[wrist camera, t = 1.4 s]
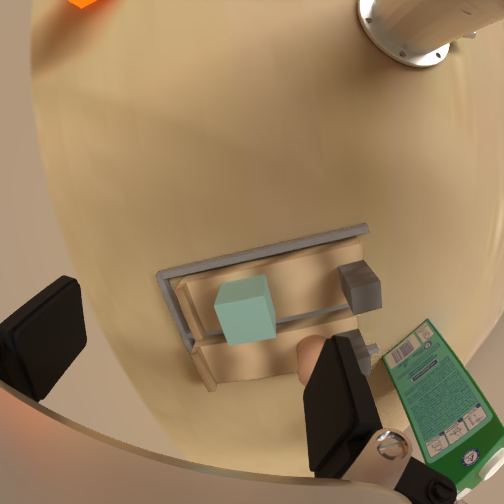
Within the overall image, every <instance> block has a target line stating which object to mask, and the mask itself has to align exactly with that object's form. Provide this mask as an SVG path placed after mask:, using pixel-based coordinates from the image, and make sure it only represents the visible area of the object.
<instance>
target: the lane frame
mask: <svg viewBox="0 0 504 504" xmlns="http://www.w3.org/2000/svg"><path fill="white" fill-rule="evenodd" d="M368 232H369V225H367V224H366V223H363V224H358V225H354V226H350V227H345V228H341V229H337V230H332V231H328V232H324V233H319V234H315V235H311V236H306V237H302V238H298V239H293V240H289V241H285V242H280V243H276V244H272V245H268V246H263V247H259V248H255V249H250V250H246V251H242V252H237V253H233V254H229V255H225V256H220V257H216V258H212V259H207V260H203V261H199V262H195V263H190V264H186V265H182V266H178V267H173V268H169V269H165V270H162V271H159V272H158V273H157V274H156V278H157V280H158V283H159V285H160V288H161V290H162V293H163V295H164V297H165V300H166V302H167V305H168V307H169V309H170V312H171V314H172V316H173V319H174V321H175V323H176V325H177V328H178V330H179V332H180V334H181V336H182V339H183V341H184V343H185V345H186V347H187V349H188V352H189V354H191V352H192V349H193V346H194V341H193V339H192V338H194V337H193V334H192V332H191V330H190V329H188V327H187V325H186V323H185V320H184V318H183V316H182V313H181V311H180V308H179V306H178V304H177V301H176V299H175V296H174V294H173V291H172V289H171V286H170V283H169V281H168V278H172V277H176V276H181V275H185V274H190V273H194V272H199V271H203V270H208V269H212V268H216V267H221V266H225V265H230V264H234V263H239V262H243V261H247V260H252V259H256V258H261V257H265V256H269V255H274V254H278V253H282V252H287V251H291V250H295V249H300V248H304V247H308V246H313V245H317V244H321V243H326V242H330V241H334V240H339V239H343V238H347V237H351V236H356V235H360V234H364V233H368ZM347 307H350V306H349V304H348V303H346V304H342V305H338V306H334V307H330V308H326V309H321V310H317V311H313V312H308V313H304V314H299V315H294V316H290V317H285V318H280V319H276V323H281V322H286V321H291V320H295V319H300V318H305V317H309V316H314V315H318V314H322V313H327V312H331V311H335V310H339V309H343V308H347ZM221 333H224V332H223V330H222V329H221V330H215V331H209V332H205V335H204V336H208V335H215V334H221ZM366 347H367V350H368V352H369V354H370V355H371V354H375V353H378V346H377V344H376V343H375V344H372V345H368V346H366ZM293 373H294V372H293ZM287 374H289V373H287ZM282 375H283V374H282ZM276 376H277V375H276ZM270 377H271V376H270ZM264 378H265V377H264ZM257 379H258V378H257ZM250 380H252V379H250ZM243 381H244V380H243ZM235 382H237V381H235ZM227 383H228V382H227ZM217 384H219V383H217Z"/></svg>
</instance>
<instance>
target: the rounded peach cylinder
mask: <svg viewBox="0 0 504 504" xmlns="http://www.w3.org/2000/svg"><path fill="white" fill-rule="evenodd" d="M326 339H327V338H326V337H324V336H321V335H310V336H307V337H305V338H303V339H302V340H301V341H300V342H299V343H298V345H297V347H296V354H297V363H298V373H299V380H300V382H301V383H302V384H303V385H305V386H306V385H307V383H308V381H309V378H310V376H311V374H312V371H313V369H314V367H315V364H316V362H317V360H318V357H319V355H320V352H321V350H322V347H323V345H324V342H325V340H326Z"/></svg>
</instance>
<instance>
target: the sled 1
mask: <svg viewBox="0 0 504 504" xmlns="http://www.w3.org/2000/svg"><path fill="white" fill-rule="evenodd" d="M263 274H265V276H266V279H267V283H268V287H269V291H270V294H271V298H272V302H273V306H274V309H275V319H280V318H285V317H290V316H294V315H299V314H304V313H308V312H313V311H317V310H321V309H326V308H330V307H334V306H338V305H342V304H346V303H348V304H349V306H350V308H351V311H352V313H353V315H357V314H361V313H364V312H368V311H372V310H376V309H379V308H382V299H381V284H380V280H379V279H378V277H377V276H376V275H375V274H374V272H373V271H372V270H371V268H370V267H369V266H368V265H367V263H366V262H365V261H364V259H363V252H362V244H361V242H360V241H359V240H358V239H357V238H356V237H354V238H349V239H345V240H341V241H336V242H332V243H328V244H324V245H319V246H315V247H311V248H306V249H302V250H298V251H293V252H289V253H285V254H280V255H276V256H272V257H267V258H263V259H258V260H254V261H250V262H245V263H241V264H236V265H232V266H227V267H223V268H219V269H214V270H210V271H205V272H201V273H196V274H192V275H187V276H184V277H183V278H182V280H181V281H180V283H179V284H178V286H177V288H176V289H175V294H176V296H177V299H178V301H179V304H180V306H181V309H182V311H183V313H184V316H185V318H186V321H187V323H188V325H189V328H190V330H191V332H192V334H193V337H194V339H195V341H196V340H203V337H204V335H205V332H209V331H215V330H221V329H222V327H221V324H220V322H219V319H218V316H217V313H216V311H215V308H214V303H215V300H216V297H217V295H218V292H219V289H220V286H221V283H226V282H231V281H236V280H240V279H245V278H249V277H254V276H259V275H263Z"/></svg>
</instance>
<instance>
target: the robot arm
mask: <svg viewBox="0 0 504 504" xmlns="http://www.w3.org/2000/svg"><path fill="white" fill-rule="evenodd" d="M357 10H358V17H359V20H360V22H361V25H362V27H363V29H364V30H365V32H366V34H367V35H368V36H369V38H370V39H371V40H372V42H373V43H374V44H375V45H376V46H377V47H378V48H379V49H381V50H382V51H383V52H384V53H386V54H387V55H388V56H390V57H391V58H393V59H395V60H396V61H399V62H401V63H403V64H405V65H409V66H412V67H420V68H424V67H430V66H433V65H435V64H437V63H439V62H441V61H442V60H443V59H444V58H445V56H446V54H447V53H448V49H449V43H451V42H453V41H455V40H457V39H459V38H461V37H465V38H471V39H473V38H475V36H476V33H475V31H476V30H479V29H481V28H483V27H485V26H488V25H490V24H492V23H495V22H497V21H500V20H502V19H504V0H359V1H358V9H357ZM86 343H87V336H86V330H85V323H84V316H83V307H82V299H81V288H80V285H79V284H78V282H77V280H76V279H75V278H71V277H68V276H65V275H64V276H61V277H60V278H58V279H57V280H56V281H54V282H53V283H52V284H50V285H49V286H47V287H46V288H45V289H43V290H42V291H41V292H40V293H38V294H37V295H36V296H34V297H33V298H32V299H30V300H29V301H28V302H27V303H25V304H24V305H23V306H21V307H20V308H19V309H18V310H16V311H15V312H14V313H13V314H11V315H10V316H9V317H8V318H7V319H5V320H4V321H3V322H2V323H1V324H0V504H467V503H465V502H464V501H463V500H462V499H460V500H459V501H458V500H457V499H456V498H457V489H456V486H455V484H454V483H453V481H452V480H451V479H449V478H448V477H446V476H445V475H443V474H441V473H439V472H437V471H436V470H434V469H432V468H430V467H429V466H427V465H425V464H424V463H422V462H420V461H419V460H417V459H415V458H414V457H412V456H411V455H412V451H413V449H412V444H411V441H410V439H409V438H408V437H407V436H406V435H405V434H404V433H402V432H401V431H399V430H396V429H392V428H384V429H383V427H382V424H381V421H380V418H379V415H378V411H377V408H376V405H375V403H374V400H373V397H372V394H371V391H370V388H369V385H368V382H367V379H366V377H365V375H364V374H362V373H361V370H360V367H359V364H358V361H357V359H356V356H355V353H354V350H353V348H352V345H351V342H350V340H349V338H348V337H344V336H337V335H333V336H332V337H331V338H330V339H329V338H327V339H326V340H325V342H324V345H323V347H322V350H321V352H320V355H319V357H318V360H317V362H316V364H315V367H314V369H313V371H312V374H311V376H310V378H309V381H308V383H307V385H306V387H305V390H304V394H303V401H304V411H305V422H306V433H307V444H308V456H309V468H310V471H311V472H314V474H315V478H311V477H292V476H279V475H268V474H259V473H251V472H243V471H236V470H230V469H224V468H218V467H213V466H208V465H203V464H198V463H193V462H189V461H185V460H181V459H177V458H173V457H169V456H166V455H162V454H159V453H155V452H152V451H148V450H145V449H142V448H139V447H136V446H133V445H130V444H127V443H125V442H122V441H119V440H116V439H114V438H111V437H108V436H106V435H103V434H101V433H99V432H96V431H94V430H92V429H89V428H87V427H85V426H82V425H80V424H78V423H76V422H74V421H72V420H70V419H67V418H65V417H63V416H61V415H59V414H57V413H56V412H54V411H52V410H50V409H48V408H46V407H44V406H42V405H41V404H39V403H38V402H39V401H40V400H43V399H44V398H45V397H46V396H47V395H48V393H49V392H50V391H51V389H52V388H53V386H54V385H55V384H56V383H57V381H58V380H59V379H60V377H61V376H62V375H63V374H64V372H65V371H66V370H67V368H68V367H69V366H70V365H71V363H72V362H73V361H74V360H75V358H76V357H77V356H78V355H79V353H80V352H81V351H82V350H83V349H84V347H85V346H86Z"/></svg>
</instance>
